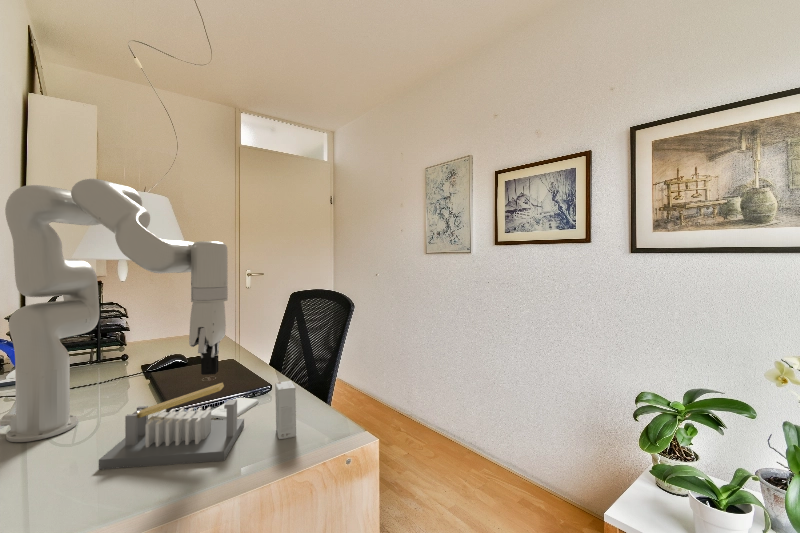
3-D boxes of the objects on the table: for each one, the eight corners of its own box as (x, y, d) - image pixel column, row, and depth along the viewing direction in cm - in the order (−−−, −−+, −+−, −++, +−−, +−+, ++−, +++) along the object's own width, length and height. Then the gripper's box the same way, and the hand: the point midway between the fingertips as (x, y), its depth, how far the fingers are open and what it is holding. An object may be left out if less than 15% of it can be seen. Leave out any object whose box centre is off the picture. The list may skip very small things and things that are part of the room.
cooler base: (98, 469, 73) (98, 423, 73) (141, 432, 89) (141, 393, 89) (224, 460, 77) (224, 416, 77) (244, 426, 93) (244, 389, 93)
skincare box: (296, 436, 88) (297, 387, 88) (277, 440, 86) (278, 390, 86) (292, 426, 93) (293, 379, 93) (274, 429, 91) (274, 382, 91)
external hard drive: (258, 404, 108) (231, 422, 96) (234, 402, 110) (204, 419, 98) (258, 399, 108) (231, 416, 96) (234, 396, 110) (204, 413, 98)
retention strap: (130, 422, 80) (128, 415, 80) (138, 416, 83) (135, 409, 83) (220, 392, 83) (218, 385, 83) (224, 387, 86) (222, 381, 86)
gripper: (204, 292, 90) (204, 364, 90) (177, 298, 75) (177, 385, 76) (236, 291, 91) (236, 363, 92) (215, 298, 77) (215, 383, 77)
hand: (209, 373), depth 84 cm, fingers closed
